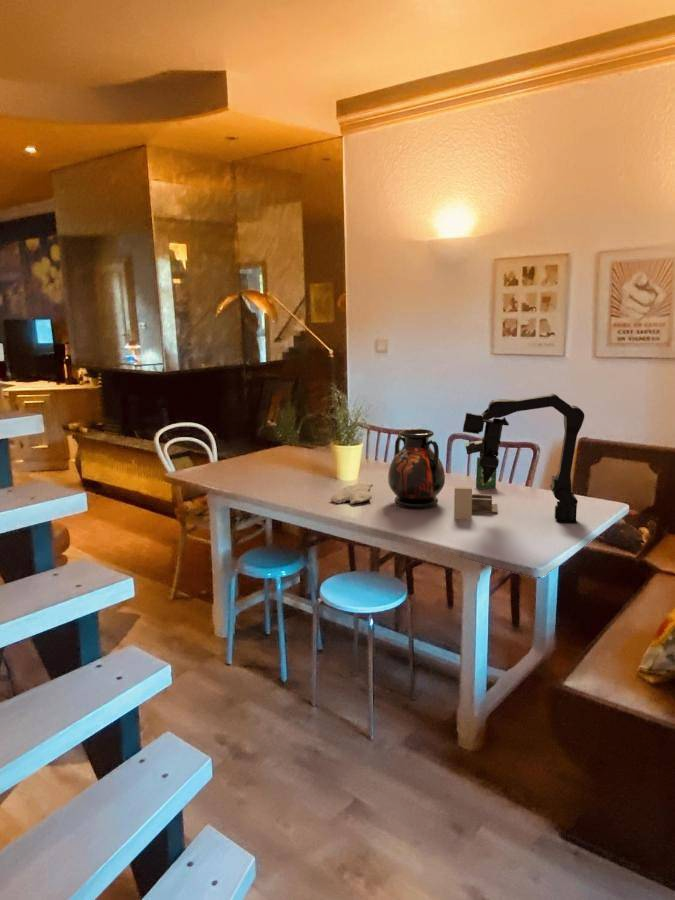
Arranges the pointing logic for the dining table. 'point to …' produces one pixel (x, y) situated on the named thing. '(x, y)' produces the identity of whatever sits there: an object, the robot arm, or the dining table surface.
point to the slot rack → (483, 504)
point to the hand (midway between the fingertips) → (485, 479)
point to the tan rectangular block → (463, 502)
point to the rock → (353, 493)
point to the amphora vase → (416, 470)
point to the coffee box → (479, 478)
